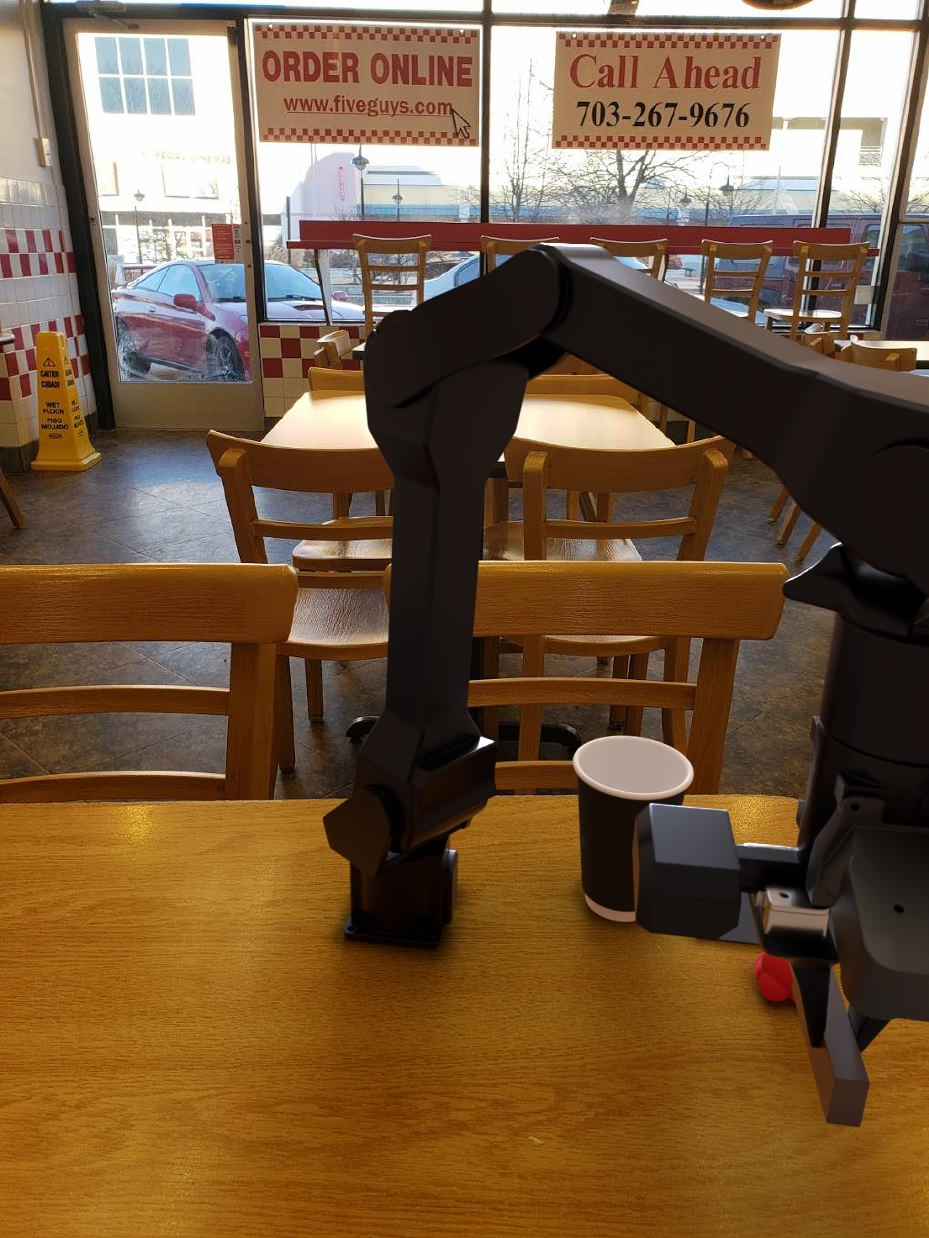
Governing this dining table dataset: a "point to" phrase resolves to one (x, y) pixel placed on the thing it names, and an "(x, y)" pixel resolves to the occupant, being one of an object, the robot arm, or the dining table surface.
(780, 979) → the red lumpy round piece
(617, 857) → the dixie cup
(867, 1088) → the fork
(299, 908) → the dining table surface
